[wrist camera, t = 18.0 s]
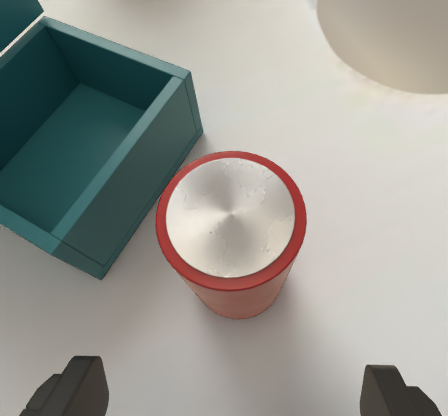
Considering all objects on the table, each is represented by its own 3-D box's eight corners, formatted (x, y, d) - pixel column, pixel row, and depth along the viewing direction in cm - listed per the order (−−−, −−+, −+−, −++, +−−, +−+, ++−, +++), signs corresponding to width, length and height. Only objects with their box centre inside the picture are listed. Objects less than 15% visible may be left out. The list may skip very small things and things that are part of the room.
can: (245, 215, 26) (242, 124, 16) (301, 280, 24) (341, 224, 13) (177, 265, 25) (126, 202, 15) (229, 339, 22) (213, 326, 12)
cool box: (203, 131, 29) (191, 70, 23) (101, 280, 25) (50, 254, 18) (83, 80, 33) (43, 15, 27) (-27, 201, 28) (-106, 157, 22)
